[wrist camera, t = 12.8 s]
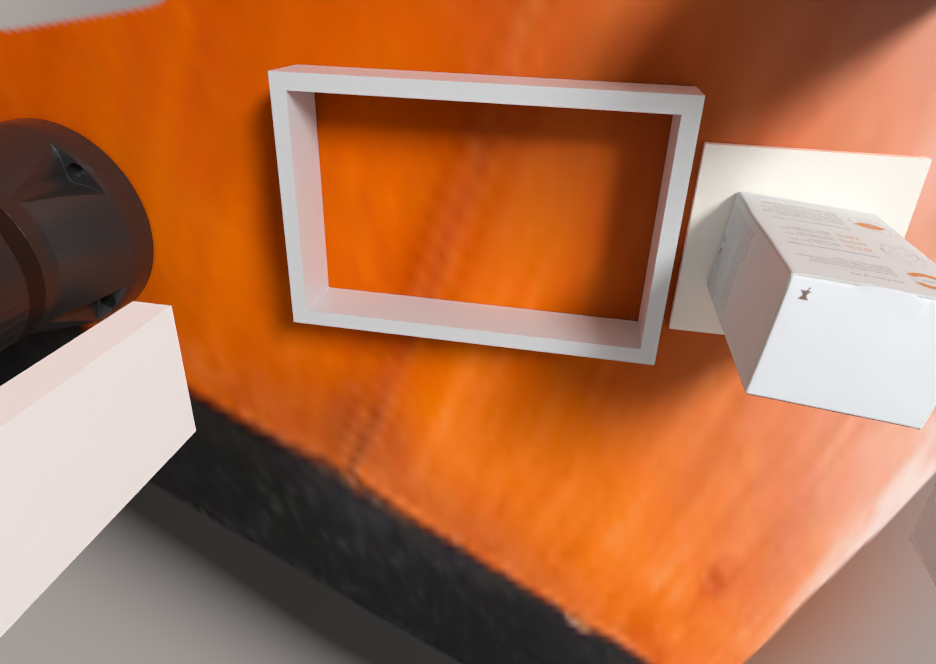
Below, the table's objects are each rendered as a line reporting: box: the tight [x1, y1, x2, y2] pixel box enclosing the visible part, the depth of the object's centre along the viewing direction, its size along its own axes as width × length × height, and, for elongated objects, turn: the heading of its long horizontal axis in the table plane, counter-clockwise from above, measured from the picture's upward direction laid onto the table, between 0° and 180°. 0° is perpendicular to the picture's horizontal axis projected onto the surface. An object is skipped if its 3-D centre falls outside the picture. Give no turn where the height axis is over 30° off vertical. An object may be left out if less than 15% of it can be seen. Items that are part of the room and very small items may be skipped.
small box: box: [707, 192, 936, 429], centre depth 34 cm, size 8×6×13 cm
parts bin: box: [268, 64, 705, 365], centre depth 41 cm, size 24×16×4 cm, turn 87°
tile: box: [669, 142, 932, 335], centre depth 40 cm, size 12×12×1 cm
